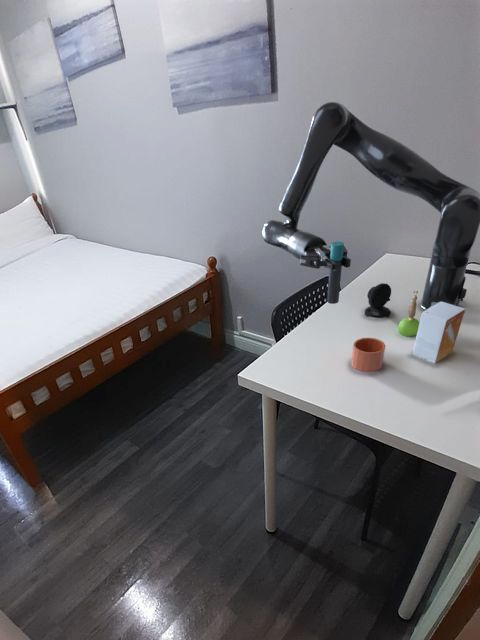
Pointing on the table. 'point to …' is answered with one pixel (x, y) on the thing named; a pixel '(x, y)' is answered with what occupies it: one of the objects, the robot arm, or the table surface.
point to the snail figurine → (410, 320)
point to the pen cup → (368, 354)
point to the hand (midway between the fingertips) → (342, 265)
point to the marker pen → (335, 273)
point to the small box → (438, 331)
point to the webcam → (378, 301)
